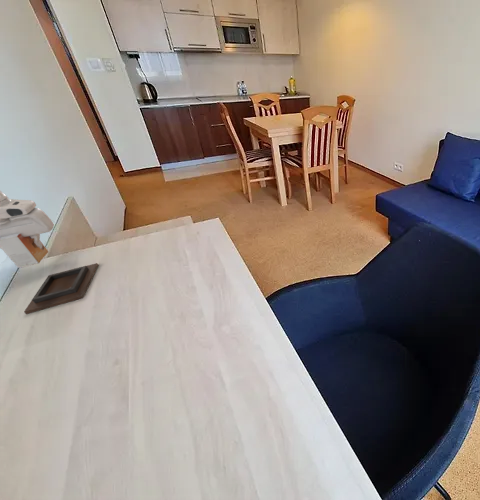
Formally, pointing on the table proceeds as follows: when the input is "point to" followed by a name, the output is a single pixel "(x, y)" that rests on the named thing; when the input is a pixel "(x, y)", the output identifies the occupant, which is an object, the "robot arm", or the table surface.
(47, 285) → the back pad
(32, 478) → the table surface
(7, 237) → the small box
